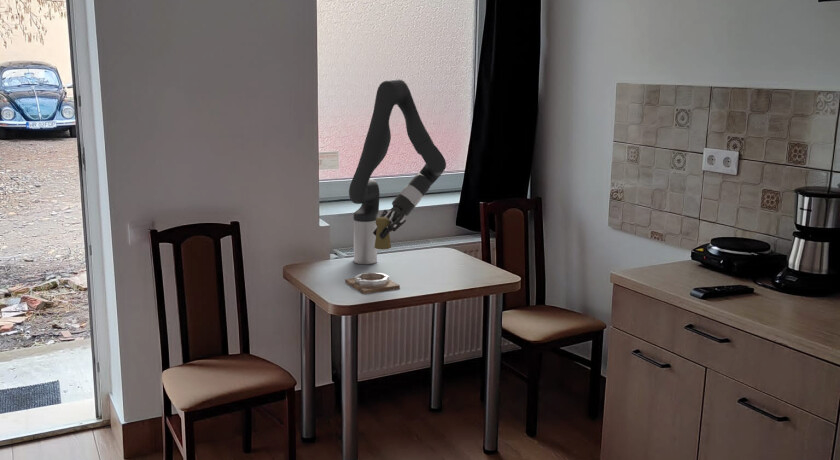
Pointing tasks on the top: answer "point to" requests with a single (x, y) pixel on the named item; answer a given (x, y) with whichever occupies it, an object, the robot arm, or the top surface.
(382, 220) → the olive chess piece
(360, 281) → the metal collar
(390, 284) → the walnut board
